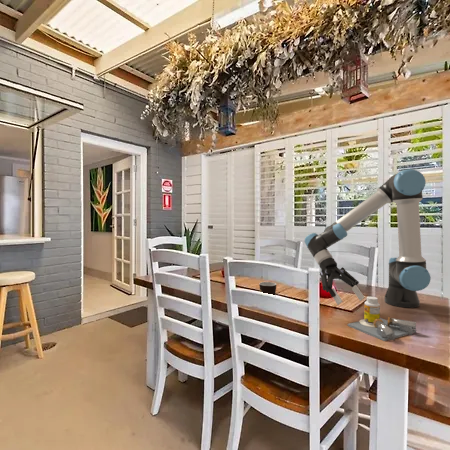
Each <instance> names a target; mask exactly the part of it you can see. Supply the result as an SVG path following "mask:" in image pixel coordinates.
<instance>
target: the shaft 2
mask: <svg viewBox="0 0 450 450" xmlns="http://www.w3.org/2000/svg"><path fill="white" fill-rule="evenodd" d="M387 320H388V326H390V325H394V326H399V327H400V331H404V332H408V335H409V336H413V333H412V331H413V329H414V330H417V328H416V327H417V322H416V321H409V320H404V319H398V318H394V317H393V318H392V317H391V316H390V315H389V316H388V317H387ZM408 335H407V336H408Z"/></svg>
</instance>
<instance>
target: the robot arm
mask: <svg viewBox="0 0 450 450" xmlns="http://www.w3.org/2000/svg"><path fill="white" fill-rule="evenodd" d="M426 182H427V181H426V179H425V176H424V174H422V172H420V171H419V170H417V169H413V168H411V169H409V168H408V169H403V170H401V171H398V172H397V173H395V174H392V176H391V177H389V179H387V180H386V181H385V182H384V183H382V185H380V186H379V187H378V188H377V189H376V191H375V192H374V193H373V194H372V195H370V196H368V197H367V198H366V199H364V200H363V201H362V202H361V203H359V204H358V205H356V206H355V207H354V208H352V209H351V210H350V211H348V212H347V213H345V214H344V215H343V216H341V217H340V218H339V219H337V220H336V221H335V222H333V223H332V224H330V225H328V226H327V227H326V228H324V230H323V232H321V233H319V234H317V233H316V232H313V233H310V234H308V235H306V237H305V238H304V244H305V245H306V248H307V250H308V251H309V252H310V254H311V256H312V257H313V258H314V260H315V261H316V263H317V265H318V266H319V269H320V272H319V273H320V274H319V275H320V277H321V280H320V281H321V284H322V285H321V286H322V290H323V291H325V292H326V293H329V294H330V296H331V297H332V298H333V300H334V301H335V303H336V305H337V306H339V305H340V304H341V303H343V299H342V297H341V296H340V295H339V294H338V292H337V290H336V289H335V288H334V287H333V283H334V280H339V281H342V282H344V283H346V284H347V285H348V286H350V287H351V290H352V292H353V293H354V294H355V295H356V297H357V299H358V300H359V301H362V300H364V299H365V295H364V294H363V293H362V291H361V289H360V287H359V286H358V285H359V283H360V282H359V280H357V279H356V278H355V277H354V276H353V275H351V274H350V273H349V272H348V271H347V270H346V269H345V268H344V266H343V267H341V268H338V263H337V261H336V260H335V259H334V258H333V255H332V254H331V253H330V251H329V250H328V248H329V247H331V246H333V245H334V244H337V242H340V241H342V240H344V239H346V237H347V236H348V232H349V231H350V230H351V229H353V228H354V227H355V226H357V225H359V224H360V223H361V222H362V221H364V220H366V219H367V218H368V217H370V216H371V215H373V214H374V213H375V212H377V211H378V210H380V209H381V208H382V207H384V206H386V204H387V205H388V204H392V203H394V204H396V215H397V217H396V219H397V234H398V238H397V239H398V252H399V253H398V255H399V256H397V257H390V258H389V260H388V288H387V290H386V293H385V295H384V302H385V303H386V304H388V305H391V306H394V307H399V308H400V307H401V308H411V309H413V308H418V307H420V299H419V295H418V292H419V291H422V290H425V289H426V288H427V287H428V286H429V285H430V284H431V283H430V282H431V279H432V278H431V273H430V272H429V270H428V269H427V260H426V259H425V258H424V257H423V256H422V255H423V254H422V240H421V239H422V238H421V219H420V202H421V201H422V200H423V191H424V190H425V189H424V188H425V187H426Z"/></svg>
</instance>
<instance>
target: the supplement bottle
mask: <svg viewBox="0 0 450 450" xmlns="http://www.w3.org/2000/svg"><path fill="white" fill-rule="evenodd" d="M378 300H379V298H378V297H375V296H366V301H364V304H363V305H364V307H363V308H364V309H363V310H364V311H363V314H364V317H363V319H364V321H365V322H366V323H367V324H370V325H373V322H374V320H375V319H380V318H381V315H380V314H381V304H380V303H379V301H378Z"/></svg>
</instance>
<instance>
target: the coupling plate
mask: <svg viewBox="0 0 450 450" xmlns="http://www.w3.org/2000/svg"><path fill="white" fill-rule="evenodd" d="M380 319H381V320H382V321H383V322H384V324H385V325H386V326H388V319H385V318H382V317H380ZM347 326H348V327H349V328H352V329H355V330H356V331H359V332H361V333H364V334H366V335H369V336H370V337H373V338H376V339H377V340H380V341H383V342H386V341H390V340H389V338H382V337H381V336H379V335H378V334H377V328H376V327H375V326H374V325H370V324H367V323H366V322H365V321H364V318H363V319H360V320H359V321H355V322H350V323H347ZM388 327H389V328H391V329H392V330H393V331H394V332H395V339H397V338H402V337H404V336H408V332H404V331H400V327H399V326H394V325H390V326H388ZM415 333H417V329H413V331H412V334H415Z"/></svg>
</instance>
